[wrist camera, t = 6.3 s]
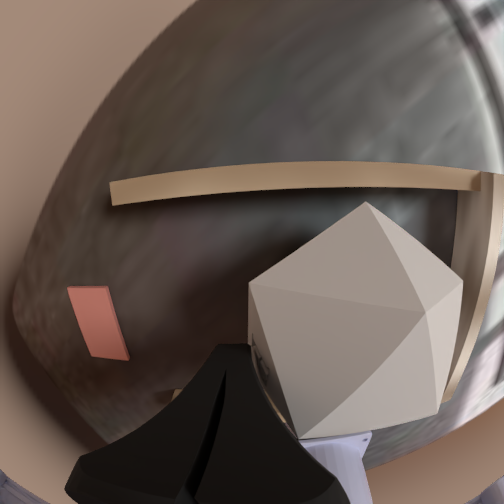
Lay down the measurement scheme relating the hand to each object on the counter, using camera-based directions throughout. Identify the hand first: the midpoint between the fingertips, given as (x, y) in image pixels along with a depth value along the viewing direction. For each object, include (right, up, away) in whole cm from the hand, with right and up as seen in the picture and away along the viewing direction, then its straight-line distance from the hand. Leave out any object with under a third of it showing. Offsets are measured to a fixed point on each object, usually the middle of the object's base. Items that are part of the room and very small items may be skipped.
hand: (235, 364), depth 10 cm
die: (+5, +3, +4) cm, 6 cm away
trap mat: (-9, 0, +5) cm, 10 cm away
